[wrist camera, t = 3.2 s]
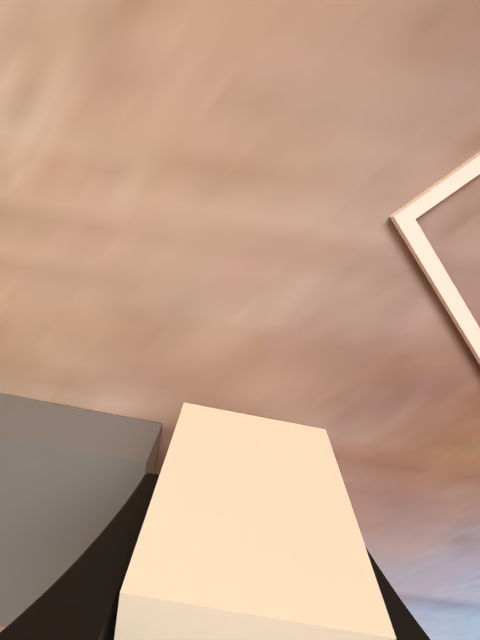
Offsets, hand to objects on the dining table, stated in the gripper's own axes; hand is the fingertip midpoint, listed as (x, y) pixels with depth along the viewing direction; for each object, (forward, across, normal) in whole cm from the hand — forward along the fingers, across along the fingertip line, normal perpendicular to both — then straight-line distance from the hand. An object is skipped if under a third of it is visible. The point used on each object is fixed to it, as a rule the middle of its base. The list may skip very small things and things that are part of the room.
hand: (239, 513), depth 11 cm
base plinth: (+8, +11, +10) cm, 17 cm away
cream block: (+2, 0, 0) cm, 2 cm away
